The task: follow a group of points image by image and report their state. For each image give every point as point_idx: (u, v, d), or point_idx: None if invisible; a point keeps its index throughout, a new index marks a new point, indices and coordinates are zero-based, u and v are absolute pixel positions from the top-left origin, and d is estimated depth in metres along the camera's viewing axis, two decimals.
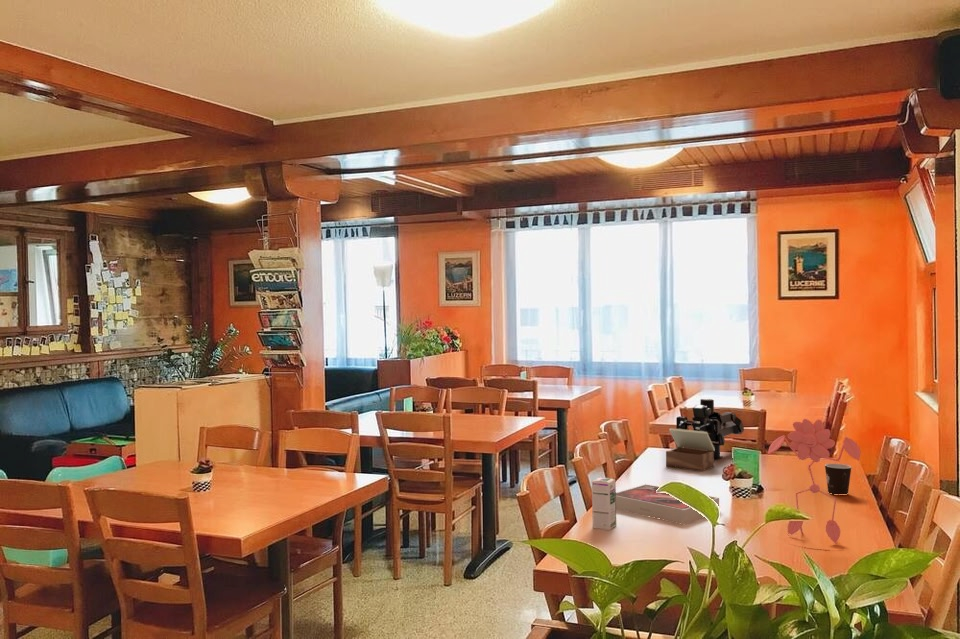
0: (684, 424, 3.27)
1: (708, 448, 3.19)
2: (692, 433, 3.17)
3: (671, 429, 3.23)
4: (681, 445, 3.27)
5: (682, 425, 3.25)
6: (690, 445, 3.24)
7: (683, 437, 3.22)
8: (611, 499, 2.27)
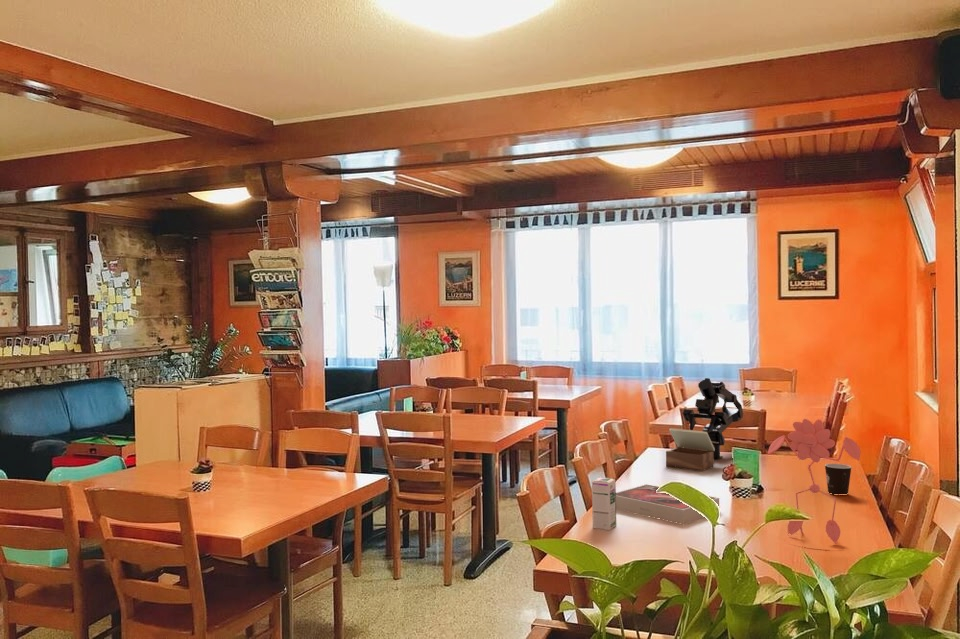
0: (693, 419, 3.33)
1: (708, 448, 3.19)
2: (692, 433, 3.17)
3: (671, 429, 3.23)
4: (681, 445, 3.27)
5: (692, 424, 3.31)
6: (690, 445, 3.24)
7: (683, 437, 3.22)
8: (611, 499, 2.27)
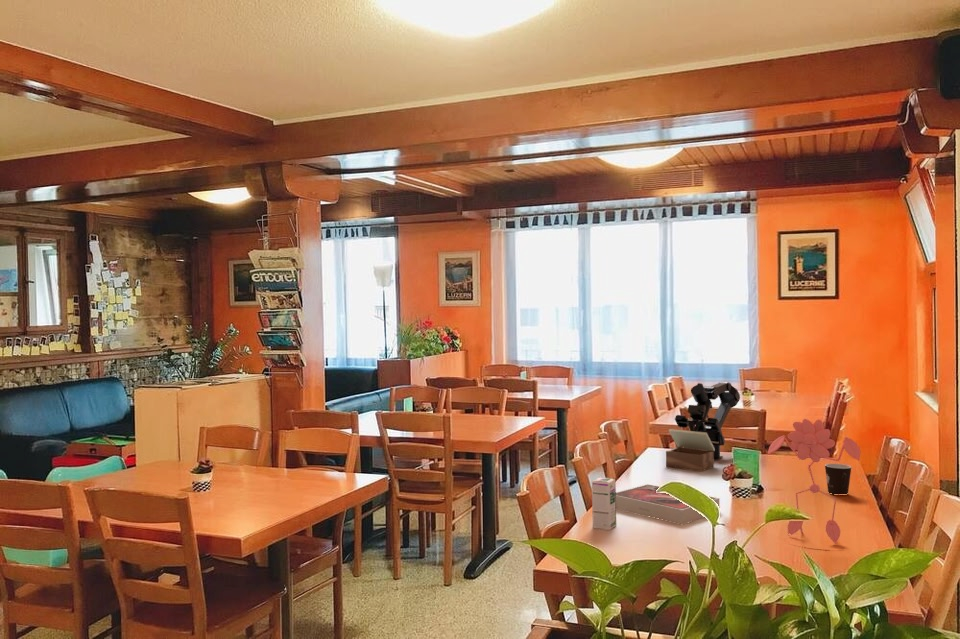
0: (694, 426, 3.25)
1: (708, 448, 3.19)
2: (692, 434, 3.17)
3: (671, 430, 3.22)
4: (681, 445, 3.27)
5: None
6: (690, 445, 3.24)
7: (683, 438, 3.22)
8: (611, 499, 2.27)
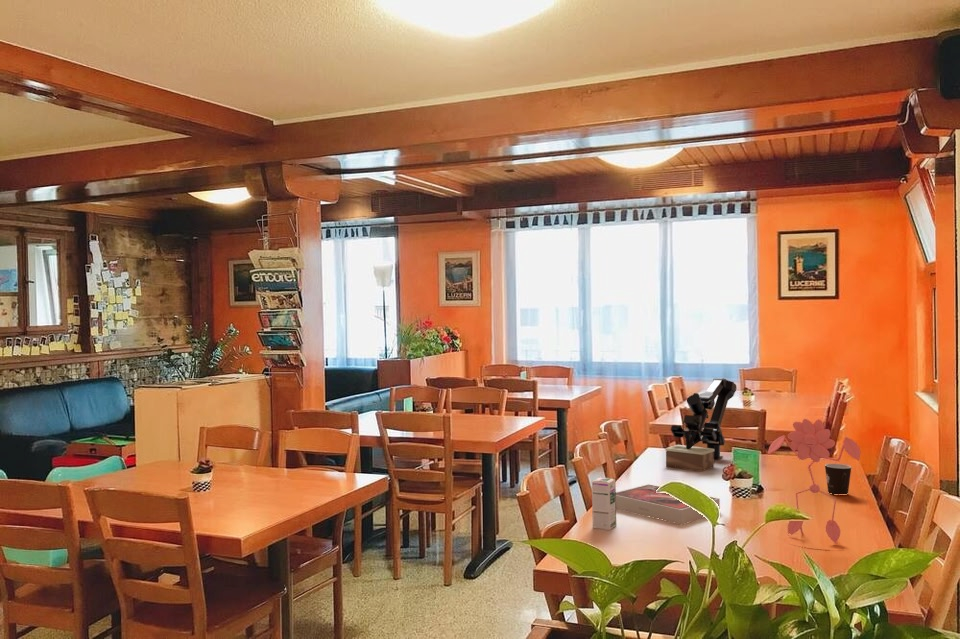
0: (690, 436, 3.22)
1: None
2: None
3: (667, 449, 3.20)
4: None
5: None
6: None
7: None
8: (611, 499, 2.27)
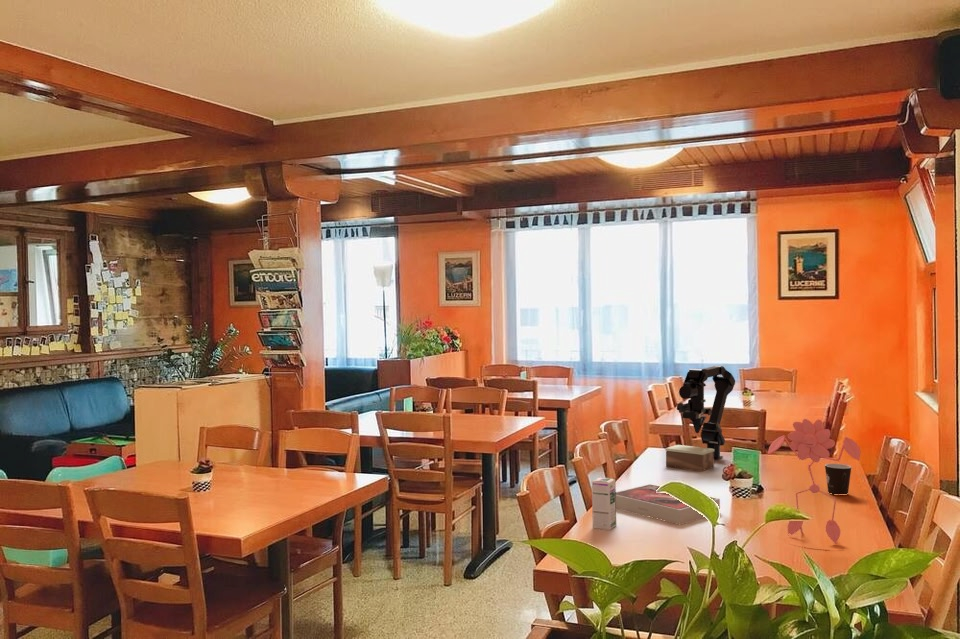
0: None
1: None
2: None
3: (667, 449, 3.20)
4: None
5: None
6: None
7: None
8: (611, 499, 2.27)
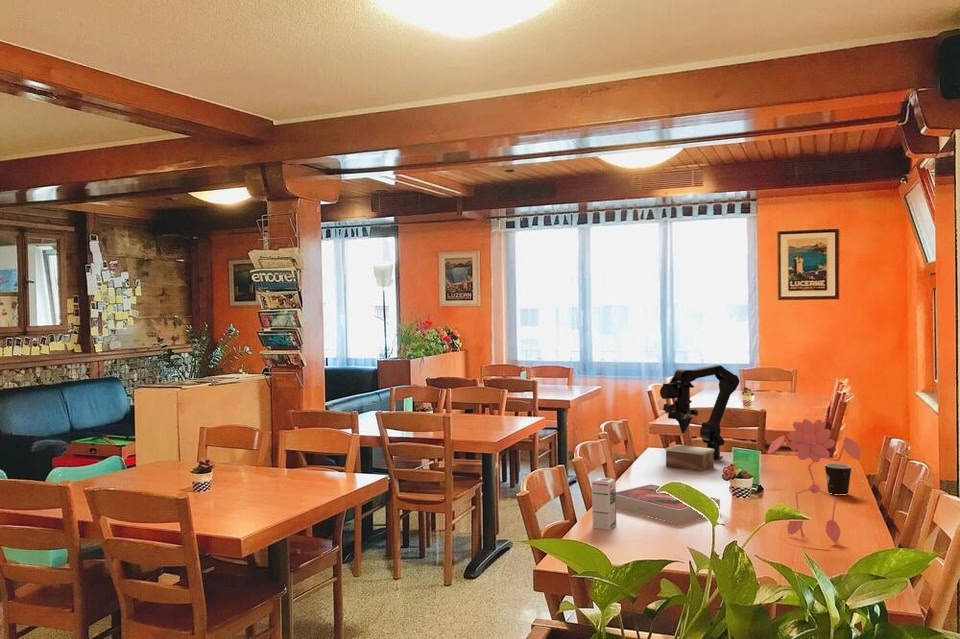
0: None
1: None
2: None
3: (667, 449, 3.20)
4: None
5: None
6: None
7: None
8: (611, 499, 2.27)
